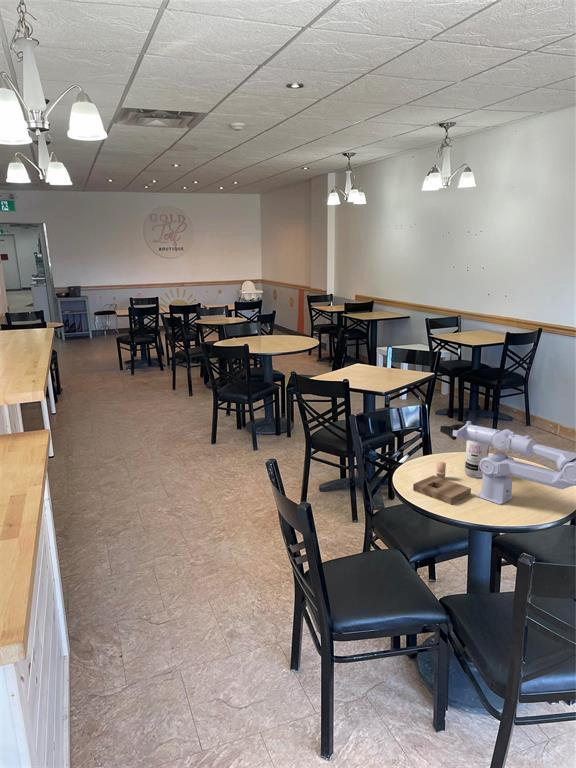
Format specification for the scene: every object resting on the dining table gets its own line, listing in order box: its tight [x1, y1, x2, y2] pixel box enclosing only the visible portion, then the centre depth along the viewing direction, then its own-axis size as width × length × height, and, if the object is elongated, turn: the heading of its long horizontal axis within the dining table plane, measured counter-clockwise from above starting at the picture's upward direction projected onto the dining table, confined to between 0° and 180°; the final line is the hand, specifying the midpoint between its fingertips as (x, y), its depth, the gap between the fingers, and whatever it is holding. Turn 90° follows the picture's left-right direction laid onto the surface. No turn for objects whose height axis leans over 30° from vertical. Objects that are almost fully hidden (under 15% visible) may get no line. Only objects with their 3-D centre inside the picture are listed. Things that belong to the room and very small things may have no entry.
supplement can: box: [464, 441, 490, 479], centre depth 212 cm, size 8×8×15 cm
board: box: [412, 475, 472, 505], centre depth 198 cm, size 16×12×2 cm
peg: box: [436, 461, 447, 479], centre depth 210 cm, size 3×3×6 cm
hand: (446, 427), depth 204 cm, fingers open, 7 cm apart
